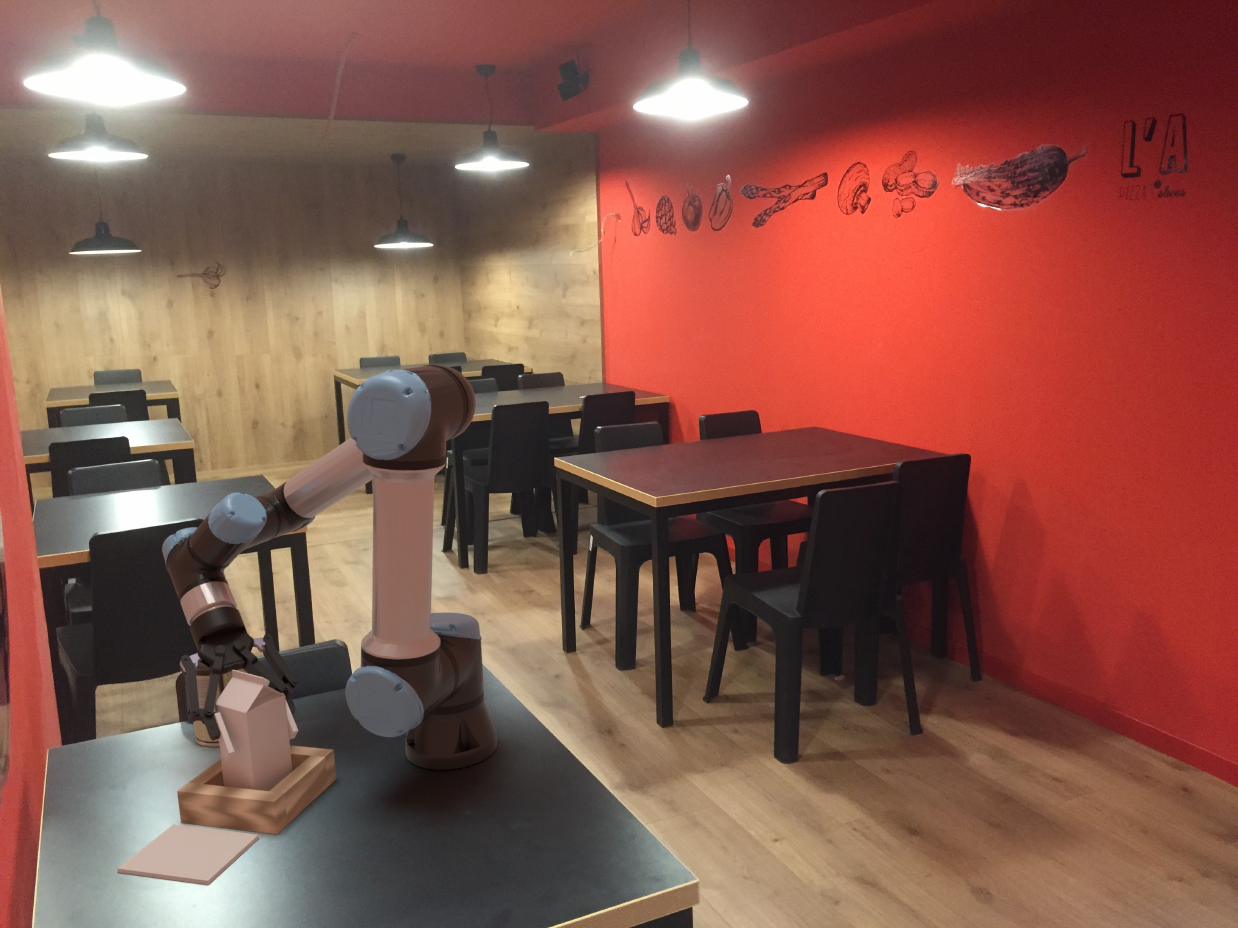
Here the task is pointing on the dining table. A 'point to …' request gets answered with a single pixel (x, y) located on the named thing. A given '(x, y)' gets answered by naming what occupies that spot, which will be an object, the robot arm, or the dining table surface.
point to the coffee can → (202, 687)
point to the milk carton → (254, 733)
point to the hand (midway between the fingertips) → (262, 745)
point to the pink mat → (189, 854)
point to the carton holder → (257, 795)
